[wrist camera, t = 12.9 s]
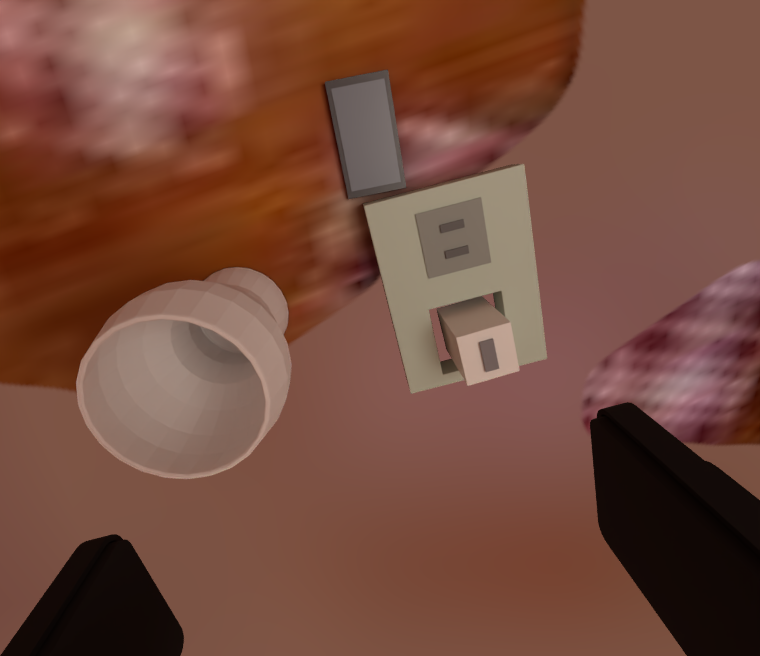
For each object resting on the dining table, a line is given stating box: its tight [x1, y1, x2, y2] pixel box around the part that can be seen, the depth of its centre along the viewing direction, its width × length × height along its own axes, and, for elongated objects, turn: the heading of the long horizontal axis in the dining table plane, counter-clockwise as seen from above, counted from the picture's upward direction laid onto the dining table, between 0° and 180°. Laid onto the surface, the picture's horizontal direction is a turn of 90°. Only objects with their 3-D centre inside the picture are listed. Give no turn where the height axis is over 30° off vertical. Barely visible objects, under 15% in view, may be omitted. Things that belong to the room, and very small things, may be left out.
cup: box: [76, 267, 292, 479], centre depth 29 cm, size 11×11×15 cm
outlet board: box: [363, 164, 547, 394], centre depth 35 cm, size 16×12×3 cm
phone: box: [325, 70, 406, 199], centre depth 32 cm, size 8×4×1 cm, turn 11°
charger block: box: [437, 296, 519, 386], centre depth 34 cm, size 4×4×7 cm
